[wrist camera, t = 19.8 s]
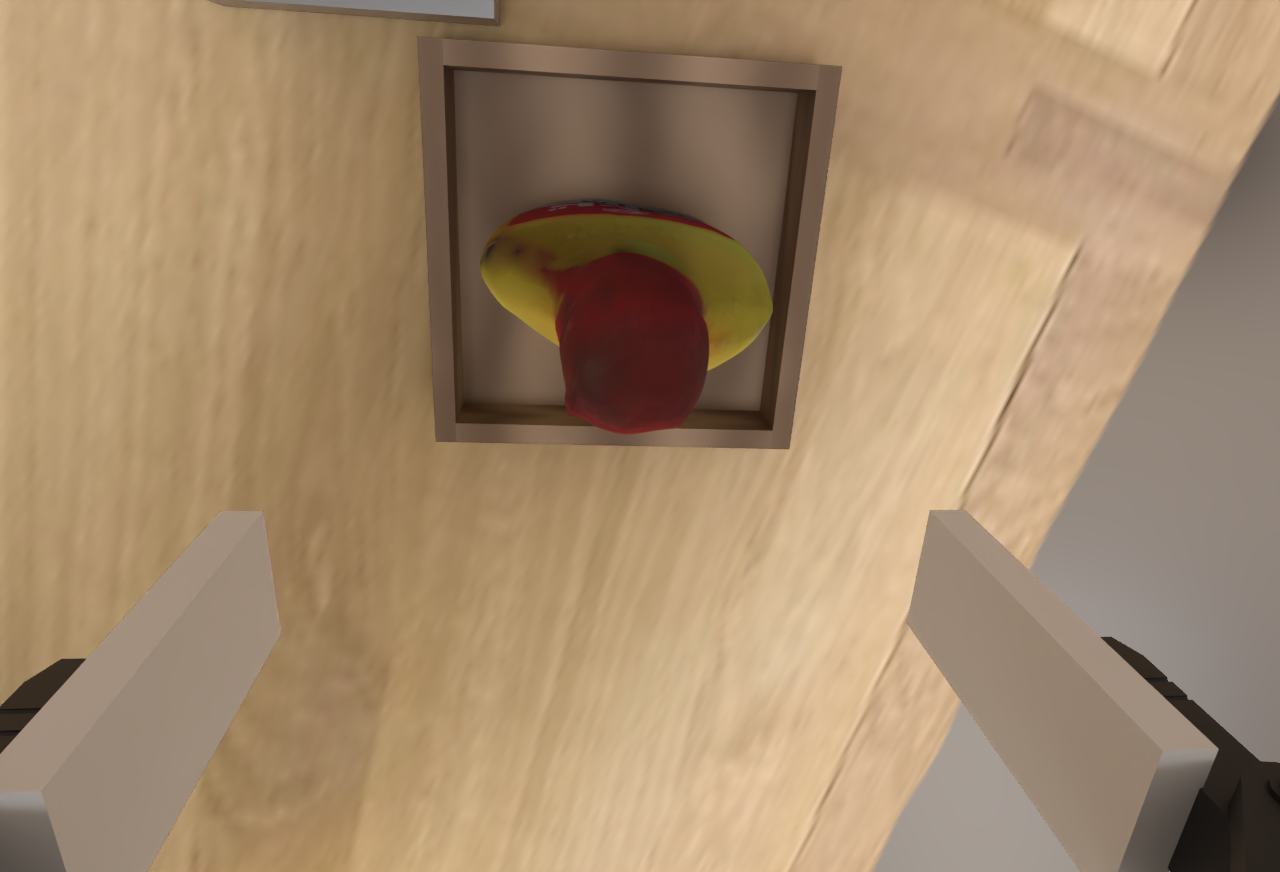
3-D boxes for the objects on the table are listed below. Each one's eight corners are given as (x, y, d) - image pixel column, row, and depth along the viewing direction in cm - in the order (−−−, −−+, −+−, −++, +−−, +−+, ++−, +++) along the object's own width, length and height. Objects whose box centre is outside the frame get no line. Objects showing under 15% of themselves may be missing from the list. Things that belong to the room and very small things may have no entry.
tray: (447, 415, 42) (435, 441, 38) (433, 45, 35) (417, 36, 32) (771, 423, 43) (789, 449, 40) (816, 72, 37) (842, 66, 33)
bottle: (486, 286, 39) (405, 432, 20) (514, 156, 36) (453, 185, 18) (710, 345, 41) (825, 527, 22) (749, 225, 38) (913, 316, 20)
